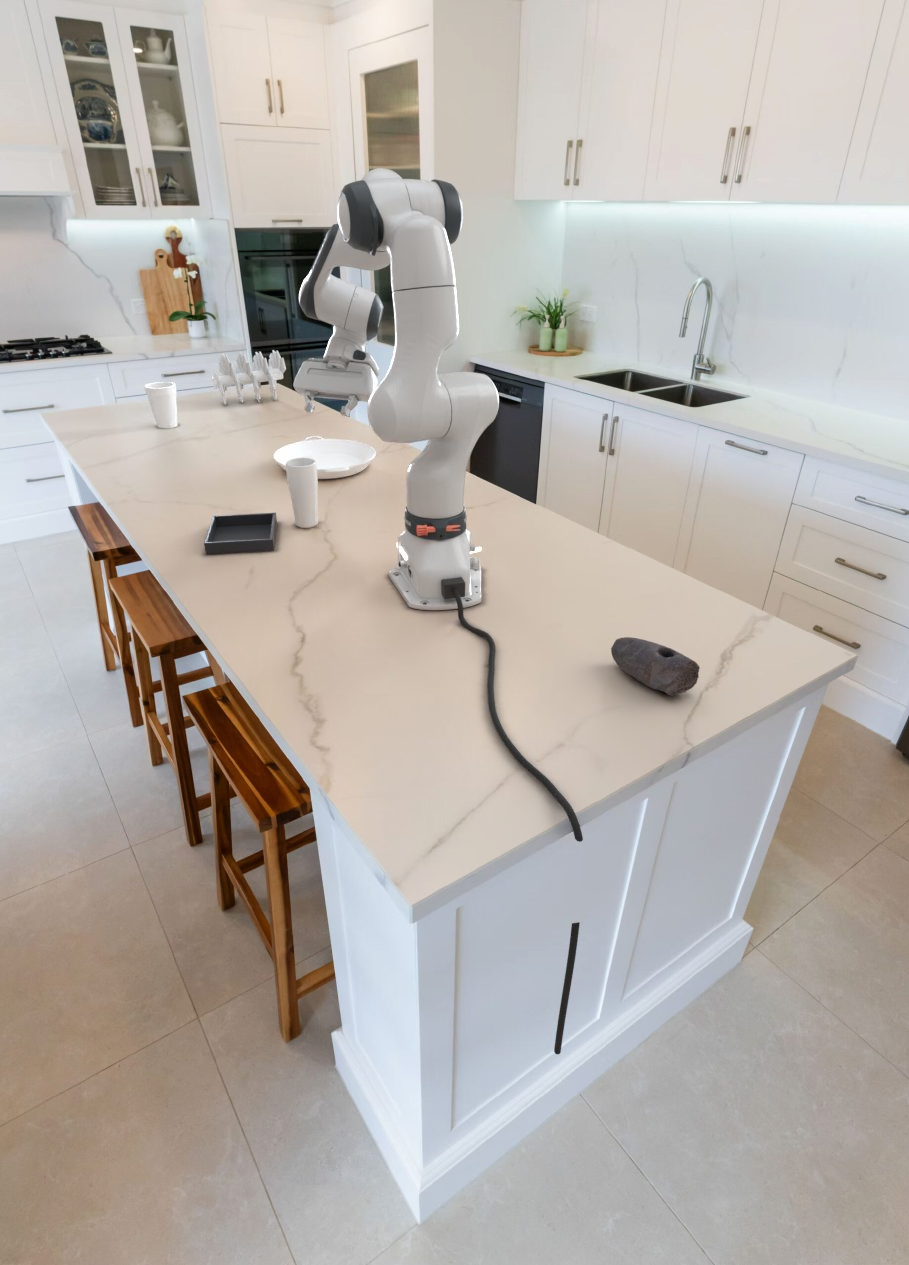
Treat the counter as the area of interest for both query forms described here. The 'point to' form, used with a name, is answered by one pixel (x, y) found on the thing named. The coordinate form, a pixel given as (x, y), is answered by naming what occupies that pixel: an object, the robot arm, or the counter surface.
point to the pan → (329, 456)
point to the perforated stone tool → (655, 665)
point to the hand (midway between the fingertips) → (326, 413)
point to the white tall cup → (303, 490)
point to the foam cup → (163, 403)
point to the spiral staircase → (249, 373)
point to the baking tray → (241, 533)
